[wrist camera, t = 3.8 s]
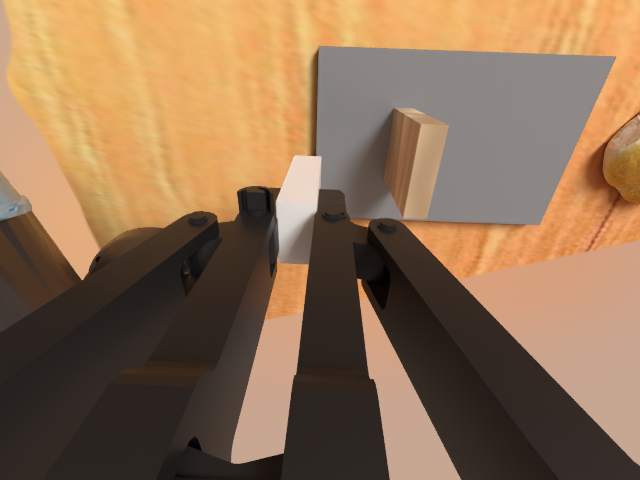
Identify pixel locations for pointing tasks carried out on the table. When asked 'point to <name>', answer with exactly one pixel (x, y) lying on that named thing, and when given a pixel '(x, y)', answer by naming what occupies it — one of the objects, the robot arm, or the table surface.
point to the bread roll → (624, 161)
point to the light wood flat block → (414, 160)
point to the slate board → (456, 126)
